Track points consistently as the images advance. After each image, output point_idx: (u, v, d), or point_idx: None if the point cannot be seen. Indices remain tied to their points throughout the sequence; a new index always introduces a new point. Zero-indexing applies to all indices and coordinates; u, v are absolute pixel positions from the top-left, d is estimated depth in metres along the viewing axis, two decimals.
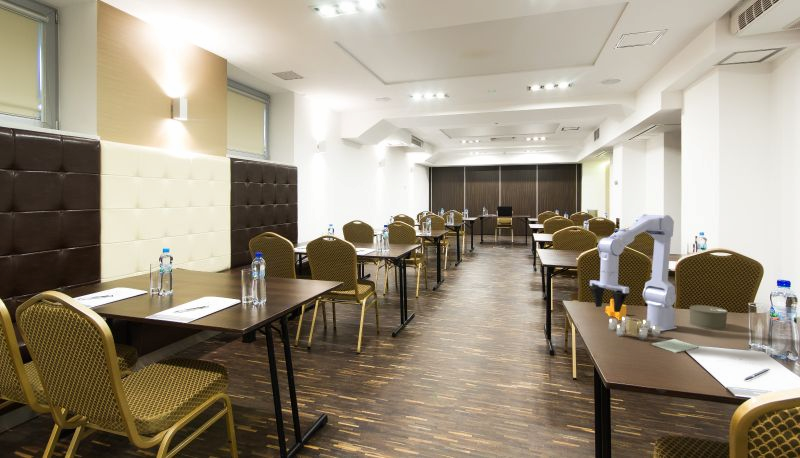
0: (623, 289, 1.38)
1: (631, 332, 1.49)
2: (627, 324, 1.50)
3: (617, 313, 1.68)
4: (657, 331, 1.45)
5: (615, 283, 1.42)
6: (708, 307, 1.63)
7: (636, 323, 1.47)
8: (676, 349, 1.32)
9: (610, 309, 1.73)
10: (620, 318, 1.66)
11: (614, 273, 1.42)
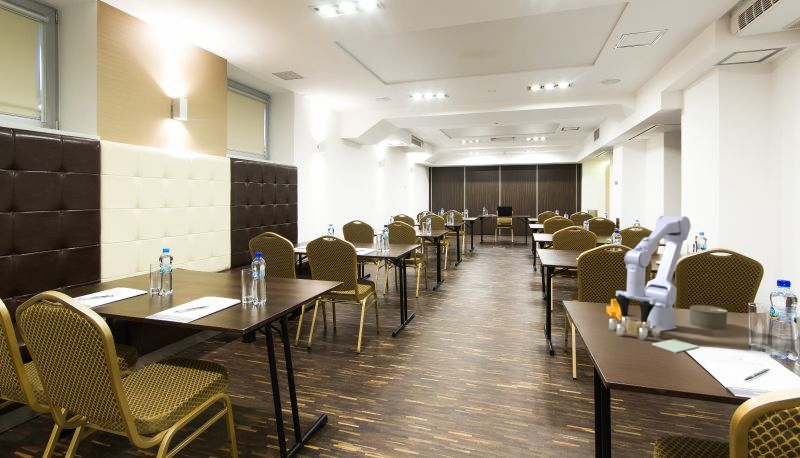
0: (650, 300, 1.43)
1: (631, 332, 1.49)
2: (627, 324, 1.50)
3: (618, 313, 1.68)
4: (657, 331, 1.45)
5: (642, 294, 1.46)
6: (708, 307, 1.63)
7: (636, 323, 1.47)
8: (676, 349, 1.32)
9: (611, 309, 1.73)
10: (621, 318, 1.66)
11: (641, 284, 1.46)
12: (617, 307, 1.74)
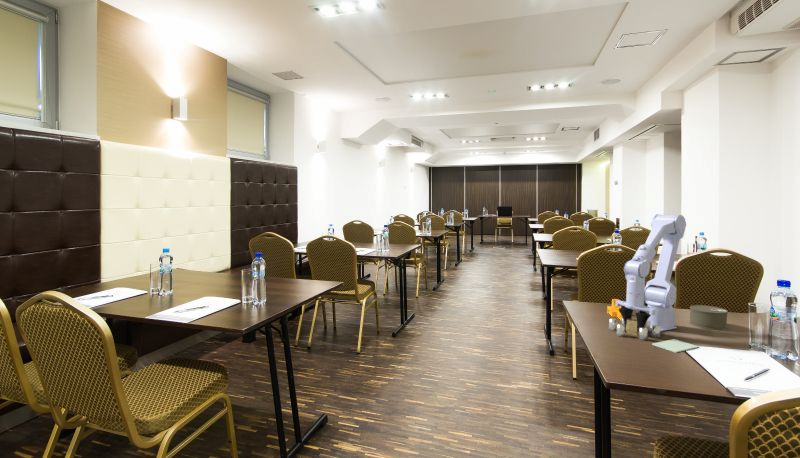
0: (650, 311, 1.43)
1: (631, 332, 1.49)
2: (627, 324, 1.50)
3: (619, 313, 1.68)
4: (657, 331, 1.45)
5: (641, 304, 1.47)
6: (708, 307, 1.63)
7: (636, 323, 1.47)
8: (676, 349, 1.32)
9: (612, 309, 1.73)
10: None
11: (641, 294, 1.46)
12: (618, 307, 1.74)
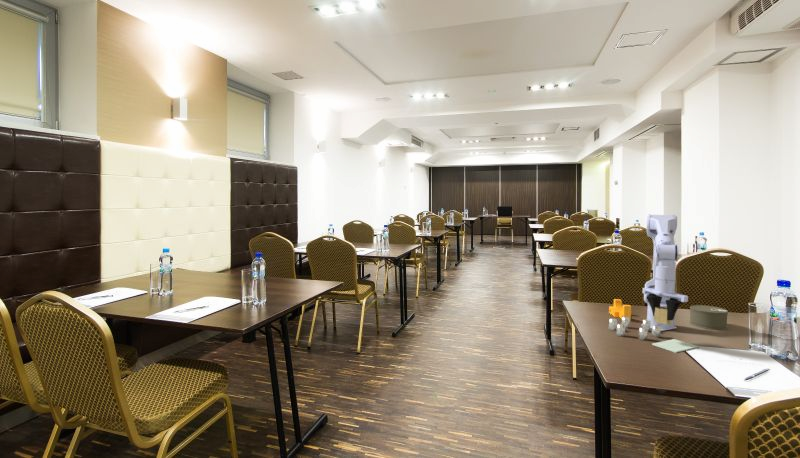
0: (682, 298, 1.33)
1: (660, 321, 1.38)
2: (656, 312, 1.40)
3: (622, 313, 1.67)
4: (657, 331, 1.45)
5: (672, 291, 1.37)
6: (709, 307, 1.63)
7: (666, 311, 1.37)
8: (676, 349, 1.32)
9: (614, 309, 1.73)
10: None
11: (671, 280, 1.36)
12: (620, 307, 1.74)
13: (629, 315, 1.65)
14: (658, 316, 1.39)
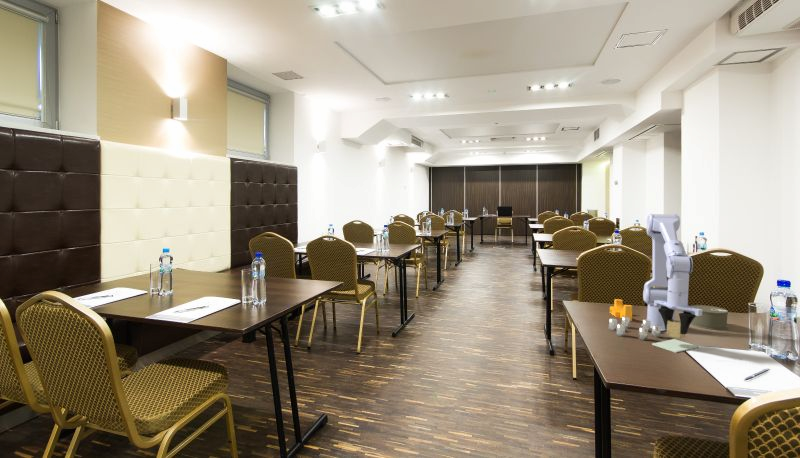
0: (696, 311, 1.29)
1: (673, 335, 1.35)
2: (668, 326, 1.36)
3: (623, 313, 1.67)
4: (657, 331, 1.45)
5: (685, 304, 1.33)
6: (709, 307, 1.63)
7: (679, 325, 1.33)
8: (676, 349, 1.32)
9: (615, 309, 1.73)
10: None
11: (685, 293, 1.33)
12: (621, 307, 1.74)
13: (630, 315, 1.65)
14: (671, 330, 1.35)
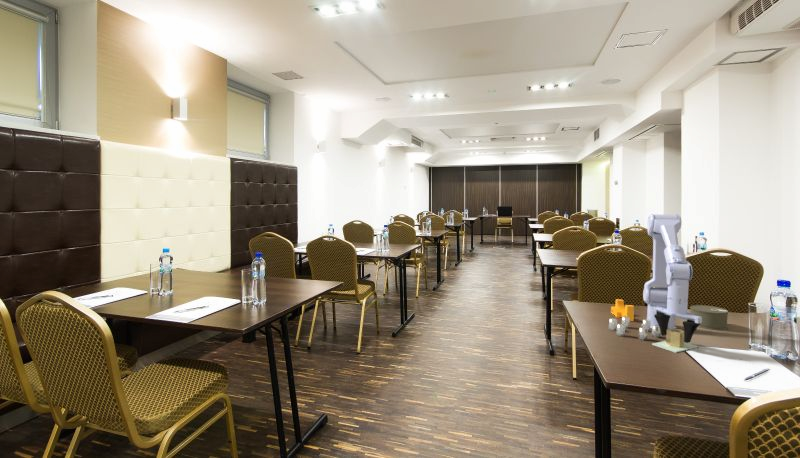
0: (695, 319, 1.29)
1: (673, 344, 1.35)
2: (668, 335, 1.37)
3: (624, 314, 1.67)
4: (657, 331, 1.45)
5: (685, 311, 1.33)
6: (709, 307, 1.63)
7: (679, 334, 1.34)
8: (676, 349, 1.32)
9: (616, 310, 1.73)
10: None
11: (684, 300, 1.33)
12: (622, 307, 1.74)
13: (632, 315, 1.65)
14: (670, 339, 1.35)
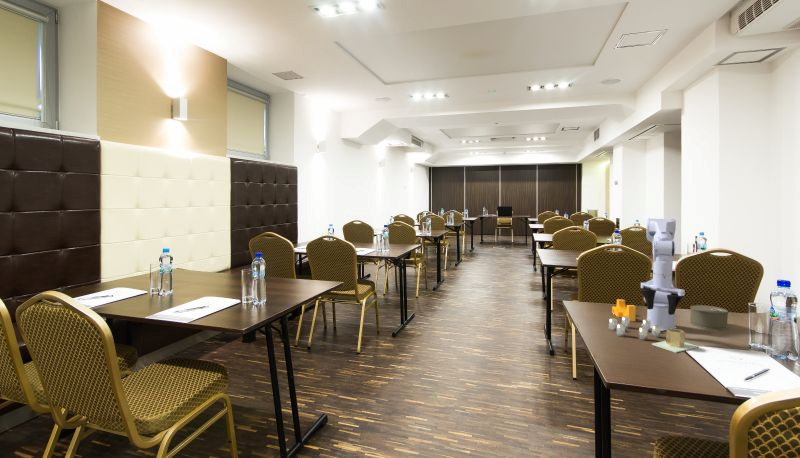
0: (679, 292, 1.38)
1: (673, 344, 1.35)
2: (668, 335, 1.37)
3: (626, 314, 1.67)
4: (657, 331, 1.45)
5: (669, 286, 1.41)
6: (709, 307, 1.63)
7: (679, 334, 1.34)
8: (676, 349, 1.32)
9: (618, 310, 1.73)
10: (629, 319, 1.65)
11: (669, 275, 1.41)
12: (623, 307, 1.73)
13: (633, 315, 1.65)
14: (670, 339, 1.35)
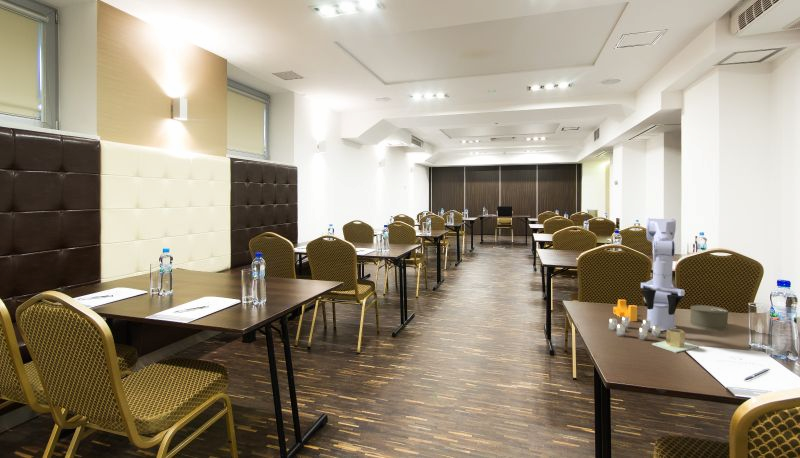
0: (679, 292, 1.38)
1: (673, 344, 1.35)
2: (668, 335, 1.37)
3: (628, 314, 1.67)
4: (657, 331, 1.45)
5: (669, 286, 1.41)
6: (709, 307, 1.63)
7: (679, 334, 1.34)
8: (676, 349, 1.32)
9: (619, 310, 1.73)
10: (631, 319, 1.65)
11: (669, 275, 1.41)
12: (625, 307, 1.73)
13: (635, 315, 1.65)
14: (670, 339, 1.35)
